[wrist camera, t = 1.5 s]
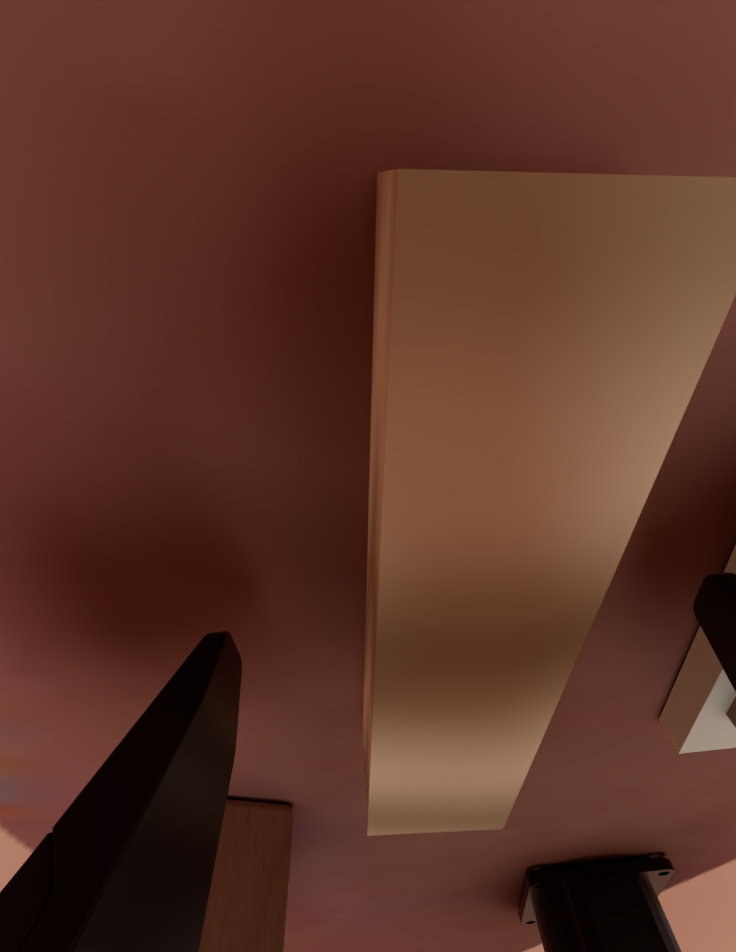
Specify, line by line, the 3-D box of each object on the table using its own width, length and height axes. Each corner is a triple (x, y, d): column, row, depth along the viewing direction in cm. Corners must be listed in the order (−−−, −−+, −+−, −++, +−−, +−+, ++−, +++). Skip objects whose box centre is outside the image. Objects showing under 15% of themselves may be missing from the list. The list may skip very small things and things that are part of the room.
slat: (474, 714, 14) (503, 829, 12) (362, 718, 14) (367, 835, 12) (616, 178, 7) (787, 178, 4) (375, 172, 6) (398, 167, 4)
